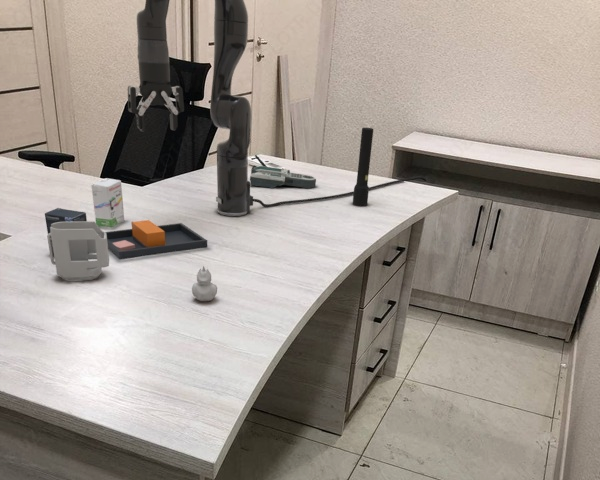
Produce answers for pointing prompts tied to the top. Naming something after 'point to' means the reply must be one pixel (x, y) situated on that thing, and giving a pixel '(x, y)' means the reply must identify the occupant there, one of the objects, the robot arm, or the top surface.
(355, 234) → the top surface
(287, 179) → the communication device
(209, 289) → the rubber duck
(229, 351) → the top surface
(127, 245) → the pink block
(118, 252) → the tray
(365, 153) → the flashlight
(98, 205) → the ink box
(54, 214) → the box
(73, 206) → the top surface
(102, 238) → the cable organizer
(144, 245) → the orange rectangular block
